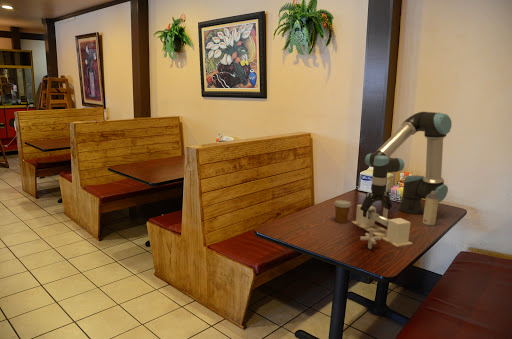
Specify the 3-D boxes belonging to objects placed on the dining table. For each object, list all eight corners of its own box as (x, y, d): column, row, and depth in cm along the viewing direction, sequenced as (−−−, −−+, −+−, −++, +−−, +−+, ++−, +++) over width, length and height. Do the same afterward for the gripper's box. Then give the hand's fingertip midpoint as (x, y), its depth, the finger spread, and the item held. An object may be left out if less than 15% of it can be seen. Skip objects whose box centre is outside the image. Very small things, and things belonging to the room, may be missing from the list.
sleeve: (355, 222, 219) (357, 205, 216) (365, 221, 221) (366, 203, 219) (364, 227, 211) (366, 209, 209) (374, 226, 214) (376, 207, 212)
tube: (358, 214, 218) (359, 207, 217) (364, 213, 219) (365, 206, 218) (388, 228, 196) (388, 221, 195) (394, 227, 198) (395, 220, 197)
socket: (386, 239, 195) (388, 219, 193) (398, 237, 198) (400, 217, 196) (396, 245, 189) (398, 224, 186) (408, 243, 192) (410, 222, 190)
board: (351, 222, 220) (351, 221, 220) (365, 220, 224) (365, 219, 224) (397, 247, 187) (397, 245, 187) (412, 244, 191) (412, 243, 190)
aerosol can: (428, 221, 225) (432, 189, 220) (437, 225, 219) (442, 192, 214) (419, 222, 222) (424, 190, 217) (429, 226, 216) (434, 193, 211)
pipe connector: (356, 243, 189) (358, 225, 187) (375, 243, 190) (377, 225, 188) (363, 252, 180) (365, 232, 177) (383, 252, 180) (385, 232, 178)
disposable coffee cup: (350, 220, 223) (352, 201, 220) (347, 225, 214) (349, 205, 212) (335, 217, 227) (336, 198, 224) (331, 222, 218) (332, 202, 216)
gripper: (391, 180, 212) (387, 216, 216) (355, 184, 202) (352, 221, 207) (401, 184, 205) (397, 220, 210) (364, 187, 195) (361, 225, 200)
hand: (374, 221), depth 208 cm, fingers open, 13 cm apart
